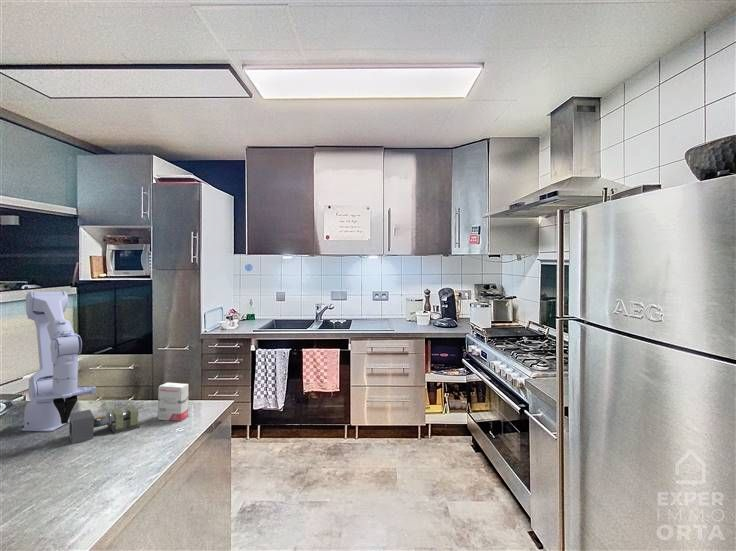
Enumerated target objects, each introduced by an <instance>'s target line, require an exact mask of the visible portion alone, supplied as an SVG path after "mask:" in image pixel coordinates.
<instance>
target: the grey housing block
mask: <svg viewBox="0 0 736 551" xmlns="http://www.w3.org/2000/svg"><path fill="white" fill-rule="evenodd" d="M94 417H95V416H94V414H93V412H92V410H91V409H86V410H80V411H77V412H75V411H74V412H71V413H70V416H69V419H68V420H69V423H68V437H69V439H70V442H71V444H75V443H76V444H77V443H80V442H84V441H88V440H92V439H94V430H95V428H94Z"/></svg>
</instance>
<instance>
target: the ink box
mask: <svg viewBox="0 0 736 551" xmlns="http://www.w3.org/2000/svg"><path fill="white" fill-rule="evenodd" d="M157 393H158V394H157V395H158V396H157V397H158V398H157V420H158V421H159V420H161V421H172V422H182V421H184V420H185V419H186V418H187V417H188V416H189V383H181V382H179V383H178V382H165V383H163V384H160V385H159V386H158V392H157Z"/></svg>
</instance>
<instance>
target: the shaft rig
mask: <svg viewBox="0 0 736 551" xmlns="http://www.w3.org/2000/svg"><path fill="white" fill-rule="evenodd" d="M138 410H139V409H137V408H136V407H135V405H133V404H131V405H126V406H125V411H122V410H121V409H120V408H119V407H118V408H113V409H111V411H107V412H106V415H104V414H103V415H97V416H94V429H95V428H100V427H103V426H107V428H110V430H111V432H113V434H114V435H117V434H120V432H121V433H124V432H128V430H129V431H132V430H136V428H137V429H140V428H141V425H140V423H138V420H139V411H138ZM116 433H117V434H116Z"/></svg>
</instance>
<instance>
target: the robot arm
mask: <svg viewBox="0 0 736 551" xmlns="http://www.w3.org/2000/svg"><path fill="white" fill-rule="evenodd" d="M68 304H69V295H68V293H67V292H66V291H65V290H61V291H56V290H55V291H28V292H27V293H26V294H25V311H26V313H25V314H26V317H27V319H29V320H31V321H33V322H34V325H35V328H36V336H37V337H36V339H37V340H36V341H37V348H38V349H37V350H38V351H37V352H38V361H39V363H38V364H39V370H37V371H36V372H35V373H33V374H32V375H31V376H30V378H29V380H28V391H27V392H28V398H29V401H28V402H27V403H26V405H25V407H24V414H23V416H24V419H23V420H24V421H23V428H21V431H23V432H25V431H26V432H29V431H30V432H53V431H56V430H58V429H59V428H61V427H63V426H65V425H66V424H69V416H70V413H72V410H73V409H74V407H75V406H76V403H77V402H78V397H79V396H86V395H95V394H97V387H96V386H95V385H93V386H82V387H81V386H80V387H79V386H78V383H79V382H78V381H79V379H78V378H79V355H80V354H82V349H83V348H82V347H83V341H82V338H81V336H80V335H79V334H78V333H75V331H74V328H73V325H72V323H71V321H69V320H68V319H66V318H65V312H66V309H67V307H68Z"/></svg>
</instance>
